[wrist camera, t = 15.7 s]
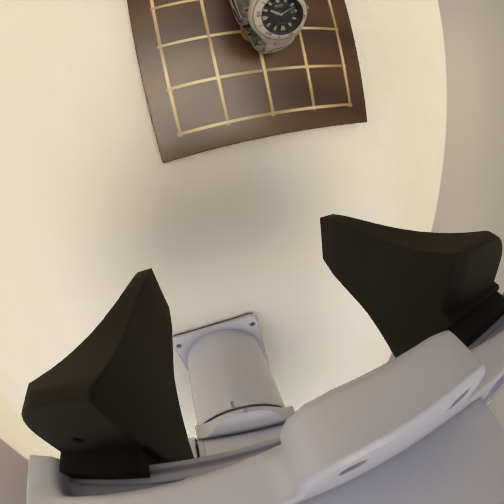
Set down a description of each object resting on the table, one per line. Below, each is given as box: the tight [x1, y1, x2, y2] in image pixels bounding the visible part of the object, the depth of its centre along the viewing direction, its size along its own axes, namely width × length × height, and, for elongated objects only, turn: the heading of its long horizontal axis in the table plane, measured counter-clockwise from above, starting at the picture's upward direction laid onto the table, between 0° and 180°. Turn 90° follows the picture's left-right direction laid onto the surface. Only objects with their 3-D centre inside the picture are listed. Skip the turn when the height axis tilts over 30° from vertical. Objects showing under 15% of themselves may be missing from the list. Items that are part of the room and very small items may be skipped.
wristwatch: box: [229, 0, 309, 54], centre depth 11 cm, size 4×6×5 cm, turn 25°
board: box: [127, 0, 367, 163], centre depth 14 cm, size 15×15×1 cm
